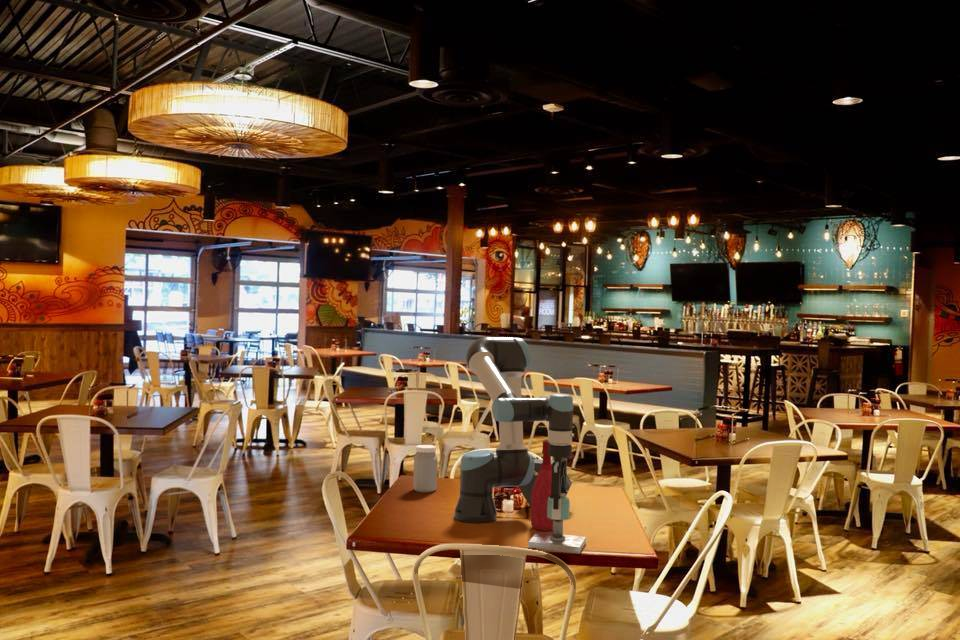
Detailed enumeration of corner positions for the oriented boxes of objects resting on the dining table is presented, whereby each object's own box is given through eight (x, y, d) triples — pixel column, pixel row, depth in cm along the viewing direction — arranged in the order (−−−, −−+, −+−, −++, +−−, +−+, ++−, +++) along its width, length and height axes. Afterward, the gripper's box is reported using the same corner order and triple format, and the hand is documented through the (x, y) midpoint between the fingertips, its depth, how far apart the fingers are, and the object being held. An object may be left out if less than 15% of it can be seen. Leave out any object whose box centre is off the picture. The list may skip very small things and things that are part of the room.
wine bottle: (551, 533, 262) (554, 443, 262) (525, 528, 267) (528, 440, 267) (564, 527, 271) (566, 440, 270) (538, 522, 276) (540, 437, 275)
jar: (410, 492, 318) (411, 447, 318) (416, 486, 328) (417, 443, 328) (433, 493, 316) (435, 448, 316) (439, 488, 326) (440, 445, 326)
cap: (545, 518, 246) (546, 499, 246) (550, 513, 253) (550, 495, 253) (566, 520, 244) (567, 501, 244) (570, 515, 251) (570, 496, 251)
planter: (579, 495, 298) (551, 448, 301) (577, 500, 291) (548, 451, 293) (542, 517, 302) (514, 469, 304) (539, 522, 294) (510, 473, 297)
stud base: (528, 548, 245) (529, 516, 245) (536, 537, 257) (537, 507, 257) (579, 553, 241) (580, 521, 240) (585, 543, 252) (586, 512, 252)
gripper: (566, 449, 238) (564, 525, 238) (577, 440, 257) (575, 510, 257) (541, 447, 240) (540, 522, 240) (554, 438, 259) (552, 508, 259)
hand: (558, 516), depth 248 cm, fingers closed on cap, 7 cm apart
